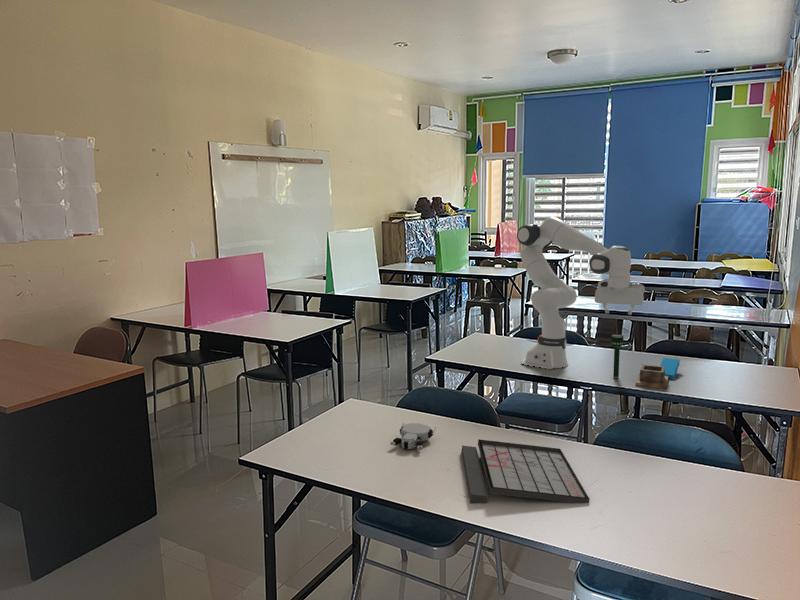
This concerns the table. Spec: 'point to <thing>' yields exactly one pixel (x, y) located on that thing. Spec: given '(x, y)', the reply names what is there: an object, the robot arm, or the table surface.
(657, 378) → the stand
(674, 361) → the blue slanted block
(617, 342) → the flashlight
